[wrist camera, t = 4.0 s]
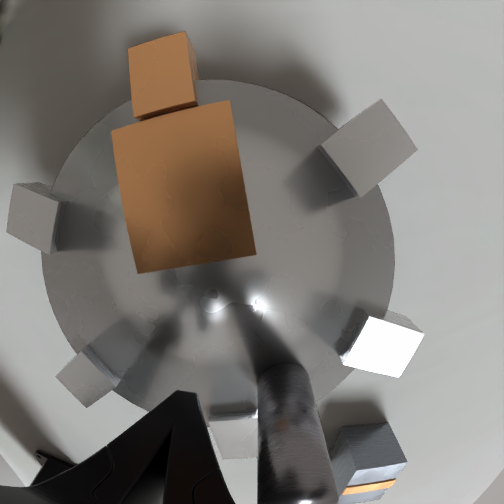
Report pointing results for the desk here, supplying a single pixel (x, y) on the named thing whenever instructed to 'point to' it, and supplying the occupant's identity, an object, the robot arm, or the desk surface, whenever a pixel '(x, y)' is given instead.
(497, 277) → the desk surface
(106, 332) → the sprocket
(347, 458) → the banded grey cube
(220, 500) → the robot arm
